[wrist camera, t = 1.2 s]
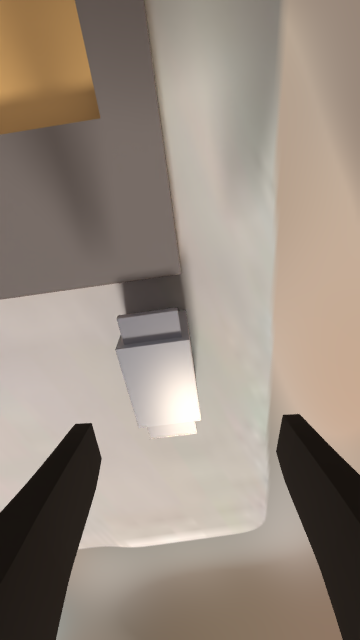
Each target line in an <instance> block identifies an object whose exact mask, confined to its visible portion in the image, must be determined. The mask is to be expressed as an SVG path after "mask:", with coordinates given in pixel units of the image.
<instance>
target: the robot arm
mask: <svg viewBox="0 0 360 640" xmlns="http://www.w3.org/2000/svg"><path fill="white" fill-rule="evenodd" d="M276 452H277V456H278V459H279V463H280V467H281V470H282V473H283V476H284V480H285V483H286V485H287V487H288V490H289V493H290V495H291V498H292V500H293V503H294V505H295V507H296V510H297V512H298V515H299V517H300V519H301V522H302V525H303V527H304V530H305V532H306V534H307V537H308V539H309V542H310V544H311V547H312V549H313V552H314V554H315V557H316V559H317V562H318V564H319V567H320V570H321V573H322V576H323V579H324V582H325V585H326V588H327V591H328V594H329V597H330V600H331V603H332V607H333V610H334V613H335V616H336V619H337V622H338V626H339V629H340V632H341V635H342V638H343V640H360V475H359V474H358V473H357V472H356V471H355V470H354V469H353V468H352V467H351V466H350V465H349V464H348V463H347V462H346V461H345V460H344V459H343V458H342V457H341V456H339V454H338V453H337V452H336V451H335V450H334V449H333V448H332V447H331V446H330V445H328V443H327V442H326V441H325V440H324V439H323V438H322V437H321V436H320V435H319V434H318V433H317V432H316V431H315V430H314V429H313V428H312V427H311V426H310V425H309V424H308V423H307V421H306V420H304V418H303V417H302V416H301V415H299V414H294V415H283V418H282V423H281V428H280V434H279V439H278V444H277V450H276ZM100 465H101V455H100V451H99V448H98V444H97V441H96V437H95V433H94V430H93V426H92V423H85V424H75V425H74V426H73V427H72V429H71V430H70V431H69V432H68V434H67V435H66V436H65V437H64V439H63V440H62V441H61V442H60V444H59V445H58V446H57V447H56V449H55V450H54V451H53V452H52V454H51V455H50V456H49V457H48V458H47V460H46V461H45V462H44V463H43V465H42V466H41V467H40V468H39V469H38V470H37V472H36V473H35V474H34V475H33V476H32V478H31V479H30V480H29V481H28V482H27V484H26V485H25V486H24V487H23V488H22V489H21V490H20V491H19V493H18V494H17V495H16V496H15V497H14V498H13V499H12V500H11V501H10V503H9V504H8V505H7V506H6V507H5V508H4V509H3V510H2V511H1V512H0V640H56V636H57V631H58V627H59V622H60V617H61V613H62V608H63V603H64V599H65V595H66V591H67V586H68V582H69V578H70V574H71V570H72V567H73V563H74V560H75V556H76V553H77V550H78V547H79V543H80V540H81V537H82V533H83V530H84V527H85V524H86V520H87V517H88V514H89V510H90V507H91V504H92V500H93V497H94V493H95V490H96V486H97V481H98V476H99V470H100Z"/></svg>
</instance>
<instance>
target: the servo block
mask: <svg viewBox="0 0 360 640" xmlns="http://www.w3.org/2000/svg"><path fill="white" fill-rule="evenodd" d="M117 322H118V325H119V329H120V332H121V336H120V338H119V341H118V344H117V347H116V349H115V350H116V354H117V357H118V360H119V364H120V367H121V370H122V374H123V377H124V380H125V384H126V387H127V390H128V394H129V397H130V400H131V404H132V407H133V410H134V414H135V417H136V420H137V424H138V427H139V428H144V427H147V429H148V433H149V436H150V439H155V438H163V437H171V436H180V435H188V434H196V433H197V429H196V422H195V421H201V416H200V408H199V400H198V392H197V385H196V377H195V370H194V363H193V356H192V349H191V342H190V335H189V328H188V321H187V314H186V310H181V311H178V308H177V307H176V308H169V309H162V310H155V311H148V312H140V313H133V314H126V315H119V316H118V317H117Z"/></svg>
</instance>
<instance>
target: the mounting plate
mask: <svg viewBox="0 0 360 640" xmlns="http://www.w3.org/2000/svg"><path fill="white" fill-rule="evenodd" d="M179 274H181V269H180V261H179V254H178V246H177V239H176V232H175V224H174V217H173V210H172V202H171V195H170V188H169V180H168V173H167V166H166V158H165V151H164V144H163V136H162V129H161V122H160V114H159V107H158V100H157V93H156V85H155V78H154V71H153V63H152V56H151V49H150V41H149V34H148V27H147V19H146V12H145V5H144V0H0V299H7V298H15V297H22V296H29V295H36V294H43V293H50V292H57V291H65V290H72V289H79V288H86V287H93V286H100V285H107V284H114V283H122V282H129V281H136V280H143V279H150V278H157V277H164V276H172V275H179Z"/></svg>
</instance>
